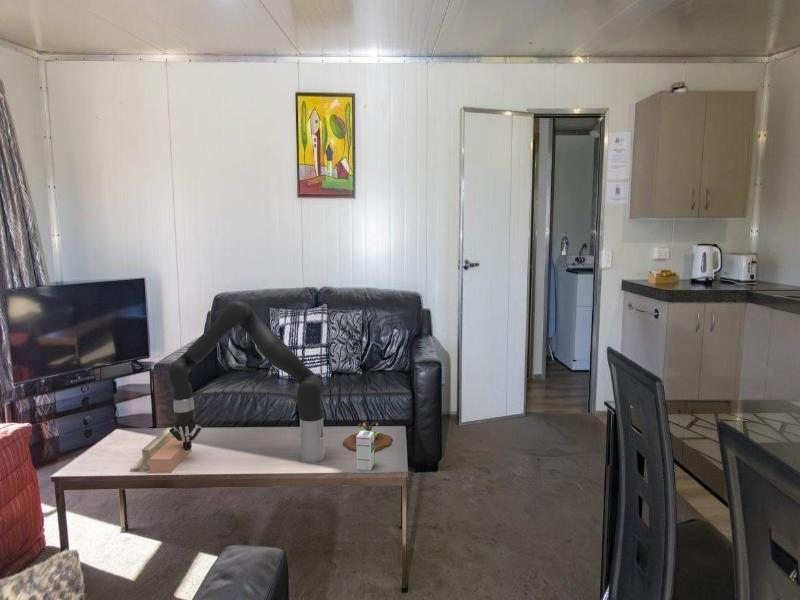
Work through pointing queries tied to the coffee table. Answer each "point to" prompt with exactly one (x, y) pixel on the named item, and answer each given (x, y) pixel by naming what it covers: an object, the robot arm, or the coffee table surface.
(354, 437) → the plant
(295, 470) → the coffee table surface
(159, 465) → the terracotta block
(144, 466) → the beige ridged rail
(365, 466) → the syrup box
